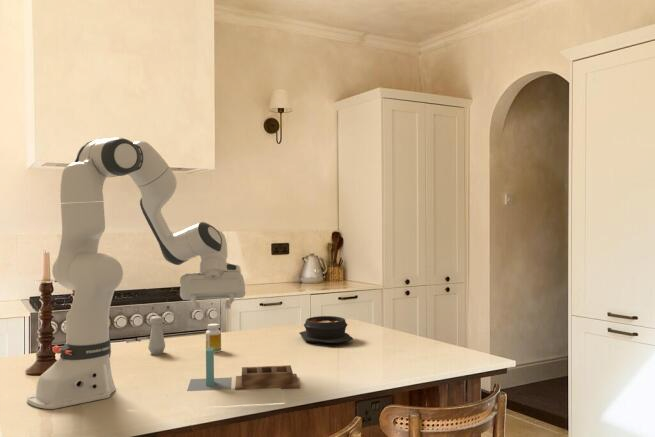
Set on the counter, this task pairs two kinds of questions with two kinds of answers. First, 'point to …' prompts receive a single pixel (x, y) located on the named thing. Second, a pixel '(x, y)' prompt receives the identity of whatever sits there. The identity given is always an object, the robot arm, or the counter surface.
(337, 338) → the casserole
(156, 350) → the salt shaker
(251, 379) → the rack
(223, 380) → the mat
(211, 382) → the teal rectangular block
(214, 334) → the supplement bottle
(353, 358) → the counter surface
